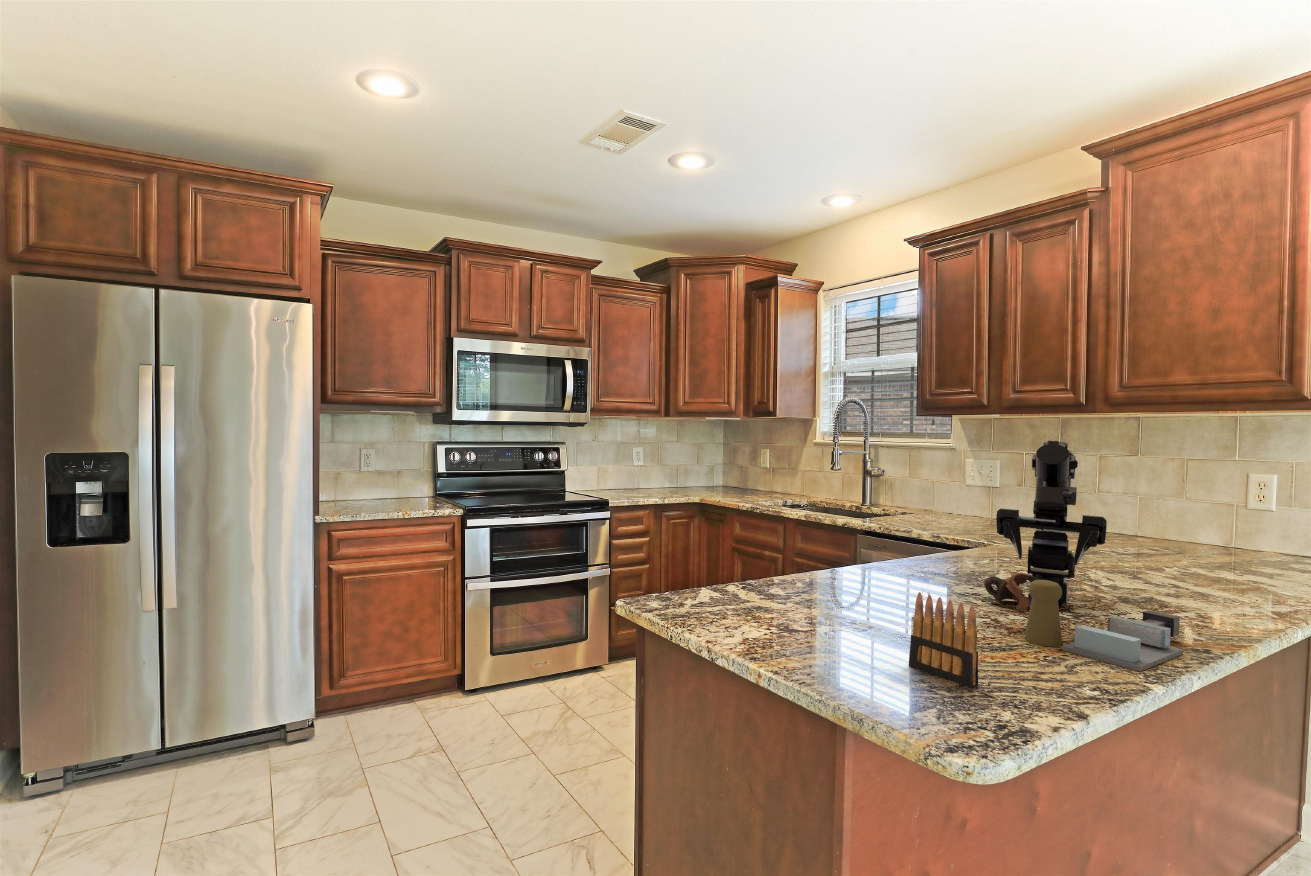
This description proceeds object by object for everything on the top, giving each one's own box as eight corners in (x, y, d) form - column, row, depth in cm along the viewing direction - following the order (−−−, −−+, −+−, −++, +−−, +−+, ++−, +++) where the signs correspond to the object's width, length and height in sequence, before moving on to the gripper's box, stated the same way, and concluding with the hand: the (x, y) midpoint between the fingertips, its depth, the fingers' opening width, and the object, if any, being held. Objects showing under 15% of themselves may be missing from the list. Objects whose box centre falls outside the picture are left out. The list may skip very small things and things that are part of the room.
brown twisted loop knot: (1034, 604, 155) (1049, 577, 151) (1036, 633, 148) (1052, 605, 143) (977, 585, 158) (991, 558, 154) (977, 613, 151) (991, 585, 146)
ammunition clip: (908, 666, 111) (911, 591, 111) (915, 664, 113) (917, 590, 112) (971, 688, 103) (975, 607, 102) (978, 685, 104) (981, 605, 103)
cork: (1067, 648, 123) (1070, 585, 123) (1030, 644, 124) (1033, 583, 124) (1055, 637, 129) (1057, 578, 129) (1019, 634, 130) (1022, 576, 130)
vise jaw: (1163, 648, 120) (1164, 629, 120) (1106, 634, 128) (1107, 616, 128) (1191, 637, 127) (1192, 619, 127) (1135, 625, 135) (1136, 607, 135)
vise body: (1140, 671, 112) (1141, 645, 112) (1062, 650, 122) (1063, 625, 122) (1200, 646, 126) (1201, 622, 126) (1125, 629, 136) (1126, 607, 136)
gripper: (999, 468, 142) (991, 529, 133) (1108, 474, 132) (1108, 540, 123) (1000, 503, 149) (993, 563, 140) (1104, 511, 139) (1104, 576, 130)
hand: (1047, 560), depth 133 cm, fingers open, 9 cm apart
